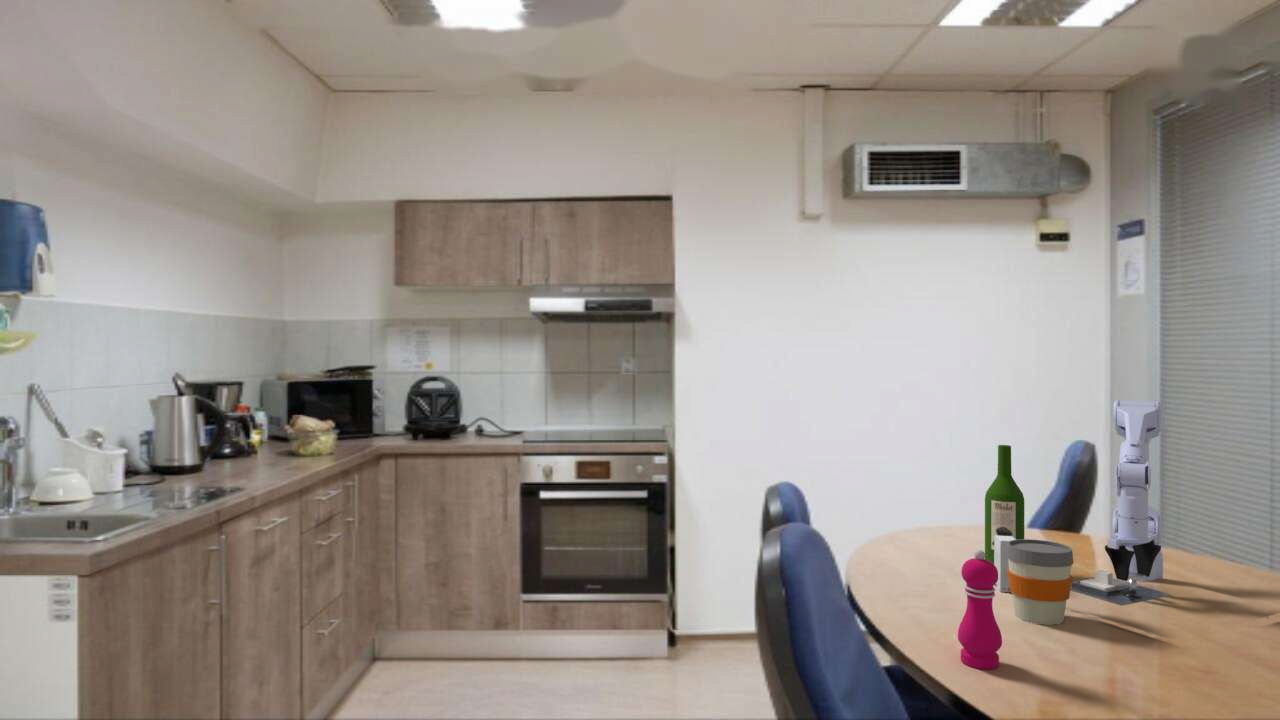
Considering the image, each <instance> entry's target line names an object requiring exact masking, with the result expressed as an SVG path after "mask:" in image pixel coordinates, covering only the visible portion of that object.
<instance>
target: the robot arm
mask: <svg viewBox="0 0 1280 720" xmlns="http://www.w3.org/2000/svg"><path fill="white" fill-rule="evenodd" d="M1112 415H1113V424H1114V430H1115V432H1116V435H1118V436H1121V437H1123V438H1124V440H1125V441H1123V442H1122V443H1121V444H1120V446H1119V459H1118V464H1116V465H1115V476H1114V477H1115V486H1116V495H1117V496H1118V497H1117V507H1116V508H1115V509H1114V511H1113V517H1112V529H1111V530H1112V537H1109V538H1107V544H1106V545H1104V550H1105V552H1106V553H1107V555H1108V557H1109V560H1110V562H1111V564H1112V566H1113V571H1114V574H1115V577H1116V580H1119V581H1123V582H1127V581H1129V579H1128V577H1129V571H1130V572H1134V573H1138V574H1142V575H1146V582H1153V581H1155V580H1157V579H1161V580H1164V557H1163V553H1162V546H1161V543H1162V542H1161V541H1162V522H1161V515H1160V513H1159V511H1156V510H1155V509H1154V508H1153V507H1151V506H1150V505H1149V490H1150V489H1151V483H1152V481H1151V480H1152V479H1151V478H1152V477H1151V476H1152V474H1151V473H1152V472H1151V470H1152V469H1151V466H1150V446H1149V445H1150V443H1151V439H1155V438H1157V437H1160V433H1161V425H1162V403H1161V402H1160V401H1159V400H1156V401H1151V400H1150V401H1149V400H1148V401H1147V400H1146V401H1143V400H1119V399H1116V400H1115V401H1114V402H1113V413H1112Z"/></svg>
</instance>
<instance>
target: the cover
mask: <svg viewBox="0 0 1280 720" xmlns="http://www.w3.org/2000/svg"><path fill="white" fill-rule="evenodd" d="M1094 578H1095V579H1092V578H1088V579H1089V580H1086V579H1083V580H1084V581H1081V580H1079V581H1080V584H1083V585H1087V586H1090V587H1094V588H1097V589H1101V590H1104V591H1108V590H1114V589H1119V588H1124V587H1122V586H1119V585H1115V584H1111V581H1113V579H1114V575H1113V573H1112V572H1111V571H1110V572H1108V571H1106V570H1100V569H1099V570H1098V569H1097V570H1094Z"/></svg>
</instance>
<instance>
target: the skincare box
mask: <svg viewBox="0 0 1280 720" xmlns="http://www.w3.org/2000/svg"><path fill="white" fill-rule="evenodd" d="M1011 540H1016V539H1015V538H1014V537H1012V536H998V535H995V536H994V565H995V566H996V568H997V570H998V581H997V582H996V584H995V585H994V587H995V588H996V589H998V591H999V592H1000V593H1011V591H1010V587H1009V579H1008V572H1007V569H1008V568H1009V564H1008V558H1007V557H1006V550H1007V542H1008V541H1011Z"/></svg>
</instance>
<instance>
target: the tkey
mask: <svg viewBox="0 0 1280 720" xmlns="http://www.w3.org/2000/svg"><path fill="white" fill-rule="evenodd" d="M1115 580H1116V579H1115ZM1115 580H1113V581H1111V584H1115V585H1119V586H1122V587H1126V588H1129V593H1130V594H1137V585H1138V583H1137V582H1140V583H1147V581H1146V575H1142V574H1138V573H1134V572H1130V571H1129V577H1128V581H1129V582H1127V583H1129V584H1127V583H1123V582H1124V581H1123V582H1119V581H1120V580H1119V581H1115Z"/></svg>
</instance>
